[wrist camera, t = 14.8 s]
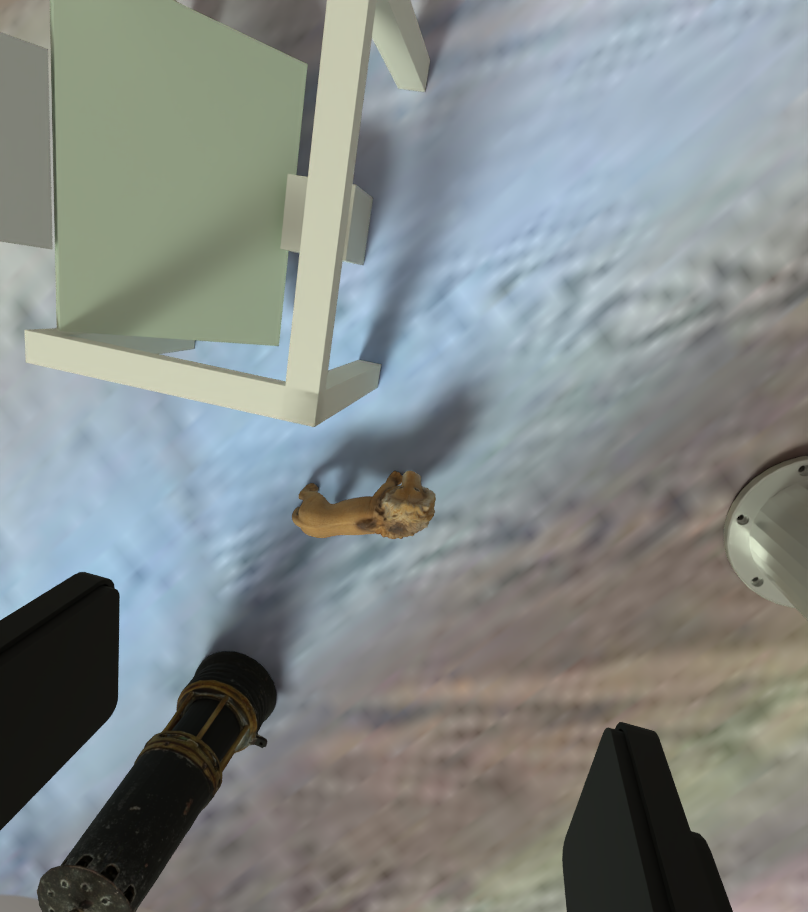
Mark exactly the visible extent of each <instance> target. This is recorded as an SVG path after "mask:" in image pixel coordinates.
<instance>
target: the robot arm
mask: <svg viewBox="0 0 808 912" xmlns="http://www.w3.org/2000/svg"><path fill="white" fill-rule="evenodd" d="M801 466H802V468H801V469H800V470H798V469H799V468H800V467H801ZM740 515H741V517H740V518H738V516H740ZM724 548H725V552H726V556H727V558H728V560H729V562H730V564H731V566H732V568H733V570H734V571H735V572H736V574H737V575H738V576H739V578H740V579H741V580H742V581H743V582H744V583H745V584H746V585H747V586H748V587H749V588H750V589H751V590H752V591H754V592H755V593H757V594H758V595H760V596H761V597H763V598H765V599H767V600H769V601H772V602H774V603H776V604H779V605H783V606H787V607H792V608H796V609H797V610H798V611H799V612H800V613H801V614H802V615H803V616H804V618H805V619H806V620H807V621H808V456H801V457H797V458H794V459H790V460H787V461H784V462H782V463H779V464H777V465H775V466H773V467H771V468H769V469H767V470H766V471H764V472H763V473H761V474H760V475H758V476H757V477H755V478H754V479H753V480H752V481H751V482H750V483H749V484H748V485H747V486H746V487H744V488H743V489H742V490H741V492H740V493H739V495H738V496H737V497H736V499H735V500H734V502H733V503H732V505H731V508H730V510H729V512H728V514H727V517H726V521H725V526H724ZM753 578H754V579H753ZM119 598H120V596H119V592H118V590H116V589H115V588H114V583H113V582H112V580H110V579H108V578H104V577H100V576H97V575H93V574H90V573H86V572H79V573H77V574H75V575H73V576H71V577H70V578H68V579H67V580H65V581H63V582H62V583H60V584H59V585H57V586H55V587H54V588H52V589H50V590H49V591H47V592H46V593H44V594H42V595H41V596H39V597H37V598H36V599H34V600H33V601H31V602H29V603H28V604H26V605H25V606H23V607H21V608H20V609H18V610H16V611H15V612H13V613H12V614H10V615H8V616H7V617H5V618H3V619H2V620H0V830H1V829H2V828H3V827H4V826H5V825H6V824H7V823H8V822H9V821H10V820H11V819H12V818H13V817H14V816H15V815H16V814H17V813H18V812H19V811H20V810H21V809H22V808H23V807H24V806H25V805H26V804H27V803H28V802H29V800H30V799H31V798H32V797H33V796H34V795H35V794H36V793H37V792H38V791H39V790H40V789H41V788H42V787H43V786H44V785H45V784H46V783H47V782H48V781H49V780H50V779H51V778H52V777H53V776H54V775H55V774H56V773H57V772H58V771H59V770H60V769H61V768H62V767H63V766H64V764H65V763H66V762H67V761H68V760H69V759H70V758H71V757H72V756H73V755H74V754H75V753H76V752H77V751H78V750H79V749H80V748H81V747H82V746H83V745H84V744H85V743H86V742H87V741H88V740H89V739H90V738H91V737H92V736H93V735H94V734H95V733H96V732H97V731H98V729H99V728H100V727H101V726H102V725H103V724H104V723H105V722H106V721H107V720H108V719H109V718H110V717H111V715H112V713H113V712H114V710H115V708H116V705H117V701H118V662H119ZM562 861H563V874H564V885H565V896H566V907H567V912H733V911H732V908H731V905H730V902H729V900H728V897H727V894H726V891H725V889H724V886H723V883H722V881H721V878H720V875H719V872H718V870H717V867H716V864H715V861H714V859H713V856H712V853H711V851H710V849H709V846H708V844H707V842H706V840H705V839H704V838H703V837H702V836H701V835H700V834H698V833H695V832H692V831H691V830H690V828H689V825H688V822H687V819H686V816H685V813H684V810H683V807H682V804H681V801H680V798H679V795H678V792H677V789H676V787H675V784H674V781H673V778H672V775H671V772H670V769H669V766H668V763H667V760H666V757H665V754H664V751H663V748H662V745H661V743H660V740H659V737H658V735H657V733H656V732H654V731H652V730H648V729H645V728H641V727H638V726H634V725H630V724H627V723H623V722H619V723H618V724H617V726H616V728H615V729H611V728H606V729H605V730H604V733H603V735H602V738H601V740H600V743H599V746H598V749H597V752H596V754H595V757H594V760H593V763H592V765H591V768H590V771H589V774H588V776H587V779H586V782H585V785H584V787H583V790H582V793H581V796H580V799H579V801H578V804H577V807H576V810H575V812H574V815H573V818H572V821H571V823H570V826H569V829H568V832H567V834H566V837H565V841H564V846H563V858H562Z"/></svg>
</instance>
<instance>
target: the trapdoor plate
mask: <svg viewBox="0 0 808 912" xmlns="http://www.w3.org/2000/svg"><path fill="white" fill-rule="evenodd" d="M50 39H51V85H52V131H53V177H54V223H55V269H56V315H57V329H58V330H59V331H65V332H80V333H95V334H110V335H124V336H139V337H154V338H169V339H183V340H198V341H213V342H228V343H242V344H257V345H272V346H279V339H280V329H281V319H282V309H283V300H284V290H285V280H286V270H287V261H288V251H287V250H283V249H280V247H281V237H282V227H283V217H284V206H285V196H286V186H287V176H288V174H292V175H296V172H297V163H298V153H299V143H300V133H301V123H302V114H303V104H304V94H305V84H306V74H307V65H308V64H306V63H304V62H302V61H299V60H297V59H295V58H293V57H291V56H289V55H287V54H285V53H283V52H281V51H278V50H276V49H274V48H272V47H270V46H268V45H266V44H264V43H262V42H259V41H257V40H255V39H253V38H251V37H249V36H247V35H245V34H243V33H241V32H238V31H236V30H234V29H232V28H230V27H228V26H226V25H224V24H222V23H220V22H217V21H215V20H213V19H211V18H209V17H207V16H205V15H203V14H201V13H198V12H196V11H194V10H192V9H190V8H188V7H186V6H184V5H182V4H180V3H177V2H175V1H173V0H50ZM0 241H1V242H8V243H14V244H21V245H27V246H34V247H40V248H47V249H52V209H51V165H50V122H49V79H48V49H46V48H43V47H40V46H38V45H35V44H32V43H29V42H27V41H24V40H21V39H18V38H16V37H13V36H10V35H7V34H4V33H2V32H0Z"/></svg>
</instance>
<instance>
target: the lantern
mask: <svg viewBox="0 0 808 912" xmlns="http://www.w3.org/2000/svg"><path fill="white" fill-rule="evenodd" d="M275 703H276V690H275V686H274V682H273V681H272V679H271V677H270V676H269V674H268V672H267V671H266V670H265V669H264V668H263V667H262V666H261V665H260V664H259V663H258V662H257V661H255V660H254V659H252V658H250V657H248V656H246V655H244V654H240V653H237V652H218V653H215V654H213V655H210V656H209V657H207V658H206V659H205V660H203V662H202V663H201V664H200V666H199V667H198V669H197V670H196V673H195V676H194V677H193V679H192V680H191V681H190V682H189V684H188V685H187V686H186V687H185V688H184V689H183V691H182V692H181V694H180V696H179V698H178V702H177V712H176V713H175V715H174V716H173V717H172V719H171V720H170V722H169V723H168V725H167V726H166V727H165V729H164V730H163V731H162V732H161V733H158V734H156V735H154V736H153V737H152V738H151V739H150V740H149V741H148V742H147V743H146V745H145V747H144V749H143V750H142V751H141V753H140V754H139V756H138V757H137V759H136V761H135V763H134V766H133V767H132V768H131V770H130V771H129V772H128V774H127V775H126V777H125V778H124V779H123V781H122V782H121V783H120V785H119V786H118V787H117V789H116V790H115V792H114V793H113V794H112V796H111V797H110V798H109V800H108V801H107V803H106V804H105V805H104V807H103V808H102V809H101V811H100V812H99V814H98V815H97V816H96V818H95V819H94V820H93V822H92V823H91V824H90V826H89V827H88V829H87V830H86V831H85V833H84V834H83V835H82V837H81V838H80V840H79V841H78V842H77V844H76V845H75V846H74V848H73V849H72V851H71V852H70V853H69V855H68V856H67V857H66V859H65V860H64V862H63V863H62V864H61V866H58V867H54V868H51V869H50V870H49V871H47V872H46V873H45V874H44V875H43V876H42V877H41V879H40V882H39V886H38V890H37V895H38V901H39V906H40V908H41V910H42V912H136V910H137V908H138V907H139V905H140V904H141V902H142V901H143V899H144V898H145V896H146V895H147V893H148V892H149V890H150V889H151V888H152V886H153V884H154V883H155V881H156V880H157V878H158V877H159V875H160V874H161V872H162V871H163V869H164V868H165V866H166V864H167V863H168V861H169V860H170V858H171V857H172V855H173V854H174V852H175V850H176V849H177V847H178V846H179V844H180V843H181V841H182V840H183V838H184V836H185V835H186V834H187V832H188V831H189V829H190V828H191V826H192V825H193V823H194V821H195V820H196V818H197V816H198V815H199V813H200V812H201V811H202V810H203V809H204V808H205V807H206V806H207V805H208V803H209V802H210V801H211V800H212V798H213V797H214V795H215V794H216V792H217V791H218V789H219V788H220V786H221V783H222V772H223V770H224V769H225V767H226V766H227V764H228V763H229V761H230V759H231V758H232V756H233V754H234V753H236V752H239V751H241V750H244V749H245V748H246V747H248V746H249V745H257V746H259V747H261V748H263V747H266V745H267V739H265V738H264V737H262V736H260V735H258V731H259V729H260V727H261V725H262V723H263V722H264V721H265V720H266V719H267V718H268V717H269V716H270V714H271V713H272V712H273V710H274V708H275Z"/></svg>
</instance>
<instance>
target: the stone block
mask: <svg viewBox="0 0 808 912" xmlns="http://www.w3.org/2000/svg"><path fill="white" fill-rule="evenodd" d="M307 181H308V177H305V176H299V175H292V174H288V176H287V186H286V196H285V206H284V217H283V227H282V237H281V247H280V249H283V250H287V251H291V252H295V253H299V254H300V246H301V236H302V227H303V218H304V209H305V199H306V190H307ZM372 202H373V198H372V197H371V196H370V195H368V194H367V193H366V192H365V191H363V190H362V189H361V188H359V187H358V186H357V185H355V184H352V192H351V199H350V207H349V215H348V222H347V230H346V237H345V245H344V253H343V260H342V262H348V263H353V264H359V265H364V258H365V251H366V244H367V237H368V230H369V223H370V216H371V209H372Z"/></svg>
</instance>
